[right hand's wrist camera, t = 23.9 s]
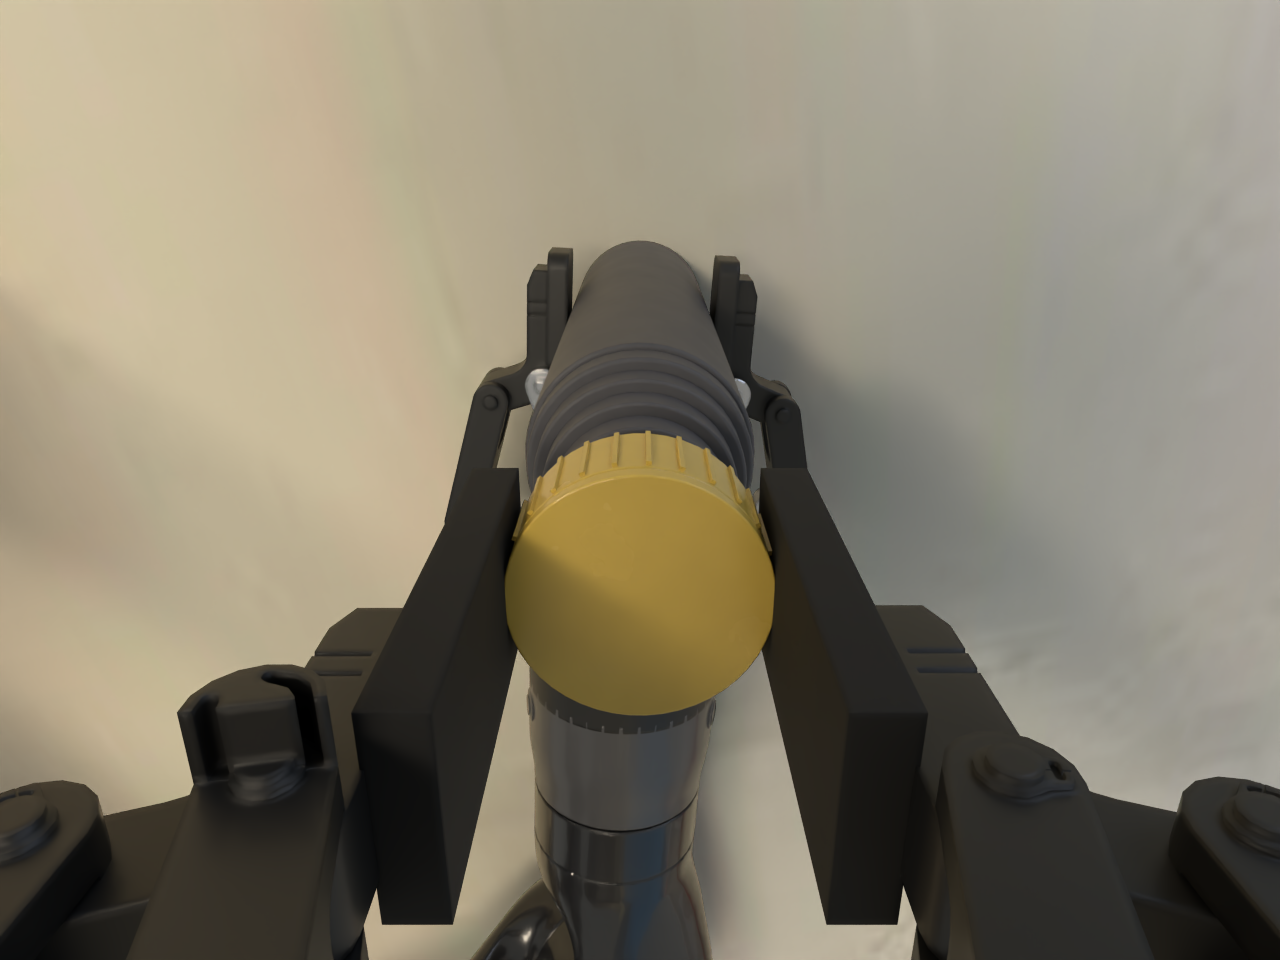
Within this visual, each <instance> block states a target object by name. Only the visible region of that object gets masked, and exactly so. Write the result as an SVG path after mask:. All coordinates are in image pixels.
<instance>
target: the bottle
mask: <svg viewBox="0 0 1280 960" xmlns="http://www.w3.org/2000/svg"><path fill="white" fill-rule="evenodd" d="M645 431H651V434H657V435H664V436H669V437H673V438H676V437H677V436H680V437H682V440H684V441H686V442H688V443H691V444H693V445H696V446H698V447H700V448H701V449H703V450H704V449H705V448H708V449H709V450H710V453H711V454H712V455H713V456H715V457H716V458H717V459H718V460H720V461H721V462H722V463H724V464H725V465H726V466H727V467H729V466H730V465H731V466H732V467H733V469H734V472H735V475H736V477H737V478H738V479H739V481H740V482H741V483H742V485H743V486H744V487H745V489H747V488H749V489H750V486H751V482H752V475H753V462H754V437H753V431H752V426H751V422H750V419H749V416H748V413H747V411H746V408H745V405H744V403H743V400H742V397H741V395H740V392H739V390H738V387H737V384H736V382H735V379H734V377H733V374H732V371H731V369H730V366H729V364H728V361H727V358H726V356H725V353H724V351H723V348H722V345H721V343H720V340H719V338H718V335H717V332H716V330H715V327H714V324H713V322H712V319H711V317H710V314H709V311H708V309H707V306H706V304H705V301H704V298H703V296H702V293H701V291H700V288H699V285H698V283H697V280H696V278H695V276H694V274H693V272H692V270H691V268H690V267H689V265H688V264H687V263H686V262H685V261H684V260H683V258H682V257H680V256H679V255H678V254H677V253H676V252H674V251H673V250H671V249H669V248H667V247H665V246H663V245H661V244H657V243H654V242H649V241H631V242H626V243H622V244H620V245H617V246H615V247H613V248H611V249H609V250H607V251H606V252H605V253H603V254H602V255H601V256H600V257H599V258H598V259H597V260H596V261H595V262H594V263H593V264H592V266H591V267H590V269H589V270H588V272H587V274H586V276H585V278H584V280H583V283H582V286H581V288H580V291H579V293H578V296H577V299H576V301H575V304H574V306H573V309H572V312H571V314H570V317H569V319H568V322H567V325H566V327H565V330H564V332H563V335H562V338H561V340H560V343H559V345H558V348H557V351H556V353H555V356H554V358H553V361H552V364H551V366H550V369H549V371H548V374H547V376H546V379H545V382H544V384H543V387H542V389H541V392H540V395H539V397H538V400H537V402H536V405H535V408H534V410H533V413H532V415H531V419H530V422H529V426H528V430H527V437H526V463H527V476H528V482H529V487H530V490H531V493H532V492H533V491H534V488H535V484H536V481H537V478H538V477H539V476H541V477H544V475H545V474H546V473H547V472H548V471H549V470H550V469H551V468H552V467H553V466H554V465H555V464H556V463H557V460H558V458H559V457H560V456H561V455H562V456H563V457H565V456H567V455H568V454H570V453H571V452H573V451H575V450H577V449H578V448H580V447H582V446H584V442H586V441H589V442H590V443H591V442H594V441H597V440H599V439H603V438H607V437H611V436H614V433H616V432H619V434H620V435H622V434H632V433H645Z"/></svg>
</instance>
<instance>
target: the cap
mask: <svg viewBox="0 0 1280 960" xmlns="http://www.w3.org/2000/svg"><path fill="white" fill-rule="evenodd" d="M511 540H512V541H514V545H513V548H512V551H511V554H510V557H509V561H508V565H507V569H506V572H505V577H504V580H505V600H506V615H507V625H508V628H509V631H510V633H511V636H512V639H513V641H514V642H515V644H516V646H517V648H518V650H519V652H520V653H521V655H522V656H523V658H524V659H525V661H526V662H527V663H528V665H529V666H530V667H531V668H532V669H533V670H534V671H535V672H536V674H537V675H538V676H539V677H540V678H541V679H543V680H544V681H545V682H546V683H547V684H549V685H550V686H551V687H552V688H554V689H555V690H557V691H558V692H560V693H561V694H563V695H565V696H566V697H568V698H570V699H572V700H574V701H576V702H578V703H580V704H583V705H586V706H589V707H591V708H594V709H597V710H602V711H606V712H610V713H616V714H624V715H656V714H664V713H669V712H674V711H679V710H682V709H685V708H688V707H691V706H694V705H697V704H699V703H701V702H703V701H706V700H708V699H710V698H712V697H713V696H715V695H717V694H718V693H720V692H722V691H723V690H725V689H726V688H727V687H728V686H730V685H731V684H732V683H734V682H735V681H736V680H737V679H738V678H739V677H740V676H741V675H742V674H743V673H744V672H745V671H746V670H747V669H748V668H749V667H750V665H751V664H752V663H753V662H754V660H755V659H756V658H757V656H758V655H759V653H760V651H761V649H762V648H763V646H764V644H765V642H766V640H767V638H768V635H769V633H770V630H771V628H772V621H773V607H774V591H775V574H774V570H773V565H772V562H771V558H770V556H771V555H772V548H771V545H770V542H769V539H768V536H767V532H766V529H765V526H764V523H763V520H762V517H761V514H758V512H757V509H756V506H755V503H754V500H753V496H752V493H751V491H750V489H749V488H747V489H745V487H744V486H743V485H742V483H741V482H740V481H739V479H738V478H737V477H736V475H735V472H734V469H733V467H732V466H731V465H730V466H729V467H727V466H726V465H725V464H724V463H722V462H721V461H720V460H718V459H717V458H716V457H715V456H713V455H712V454H711V453H710V450H709V449H708V448H705V449H704V450H703V449H701V448H700V447H698V446H696V445H693V444H691V443H688V442H686V441H684V440H682V437H680V436H677V437H676V438H673V437H669V436H664V435H657V434H651V431H645V433H632V434H622V435H620V434H619V432H616V433H614V436H611V437H607V438H603V439H599V440H597V441H594V442H591V443H590V442H589V441H586V442H584V446H582V447H580V448H578V449H577V450H575V451H573V452H571V453H570V454H568V455H567V456H565V457H563V456H562V455H561V456H560V457H559V458H558V460H557V463H556V464H555V465H554V466H553V467H552V468H551V469H550V470H549V471H548V472H547V473H546V474H545V475H544V477H541V476H539V477H538V478H537V481H536V484H535V488H534V491H533V492H532V494H531V496H530V497H529V500H528V501H527V500H524V502H523V504H522V507H521V511H520V514H519V517H518V520H517V523H516V526H515V530H514V533H513V536H512V539H511Z"/></svg>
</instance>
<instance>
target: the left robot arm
mask: <svg viewBox="0 0 1280 960" xmlns="http://www.w3.org/2000/svg"><path fill="white" fill-rule="evenodd" d="M572 284H573V248H556V247H552V249H551V250H550V251H549V253H548V263H547V265H545V264H538V265H537V266H536V267H535V268H534V270H533V272H532V274H531V277H530V279H529V282H528V284H527V358H526V359H525V360H524V361H523V362H521V363H519V364H516V365H513V366H510V367H506V368H501V367H498V368H494V369H492V370H490V371H489V372H488V373H487V375H486V376H485V378H484V379H483V381H482V383H481V384H480V386H479V387H478V389H477V390H476V392H475V394H474V396H473V400H472V405H471V409H470V413H469V418H468V422H467V426H466V431H465V435H464V439H463V443H462V448H461V452H460V456H459V461H458V465H457V469H456V474H455V478H454V482H453V486H452V491H451V495H450V499H449V504H448V508H447V512H446V517H445V523H446V521H447V519H448V517H449V515H450V513H451V511H452V509H453V507H454V505H455V503H456V501H457V499H458V497H459V495H460V493H461V491H462V489H463V487H464V485H465V483H466V481H467V479H468V477H469V475H470V473H471V471H472V469H473V468H497V464H498V460H499V456H500V452H501V448H502V444H503V440H504V436H505V432H506V428H507V424H508V420H509V416H510V412H511V410H513V409H516V408H519V407H523V406H526V405H529V404H531V406H532V408H533V410H534V408H535V405H536V402H537V400H538V397H539V395H540V392H541V389H542V387H543V384H544V382H545V379H546V376H547V374H548V371H549V369H550V366H551V364H552V361H553V358H554V356H555V353H556V351H557V348H558V345H559V343H560V340H561V338H562V335H563V332H564V330H565V327H566V325H567V322H568V319H569V317H570V314H571V312H572ZM756 305H757V294H756V290H755V287H754V283H753V281H752V279H751V278H750V277H749V275H744V274H740V262H739V260H738V259H737V258H736V257H735V256H717V255H715V259H714V267H713V279H712V291H711V303H710V317H711V319H712V322H713V324H714V327H715V330H716V332H717V335H718V338H719V340H720V343H721V345H722V348H723V351H724V353H725V356H726V358H727V361H728V364H729V366H730V369H731V371H732V374H733V377H734V379H735V382H736V384H737V387H738V390H739V392H740V395H741V397H742V400H743V403H744V405H745V408H746V411H747V413H748V416H749V417H750V418H752V419H755V420H757V421H759V422H760V423H761V430H762V437H763V444H764V451H765V459H766V466H767V468H807V463H806V455H805V446H804V438H803V430H802V422H801V414H800V409H799V407H798V405H797V403H796V402H795V401H794V400H793V399H792V398H791V394H790V391H789V390H788V388H787V386H786V385H785V384H783V383H782V382H780V381H769V380H766V379H764V378H762V377H759V376H757V375H755V374H754V373H753V372H752V371H751V369H750V363H751V354H752V344H753V334H754V324H755V313H756ZM759 495H760V488H759V489H758V490H756V491H755V493H754V494H753V500H754V503H755V506H756V509H757V512H758V513H759ZM715 709H716V700H715V696H713V697H712V698H710V699H708V700H706V701H703V702H701V703H699V704H697V705H694V706H691V707H688V708H685V709H682V710H679V711H674V712H669V713H664V714H656V715H624V714H616V713H610V712H606V711H602V710H597V709H594V708H591V707H589V706H586V705H583V704H580V703H578V702H576V701H574V700H572V699H570V698H568V697H566V696H565V695H563V694H561V693H560V692H558V691H557V690H555V689H554V688H552V687H551V686H550V685H549V684H547V683H546V682H545V681H544V680H543V679H541V678H540V677H539V676H538V675H537V674H536V672H535V671H534V670H533V669H532V668H531V667H530V688H529V690H528V694H527V710H528V715H529V725H530V739H531V746H532V752H533V758H534V765H535V849H536V857H537V862H538V866H539V870H540V872H541V875H542V878H541V879H540V880H538V881H537V882H536V883H535V884H534V885H532V886H531V887H530V888H529V889H528V890H527V891H526V892H525V893H524V894H523V895H522V896H521V897H520V898H519V899H518V901H517V902H516V903H515V904H514V905H513V906H512V907H511V909H510V910H509V911H508V912H507V914H506V915H505V916H504V918H503V919H502V920H501V921H500V923H499V924H498V925H497V926H496V928H495V929H494V930H493V932H492V933H491V934H490V935H489V937H488V938H487V939H486V940H485V942H484V943H483V944H482V945H481V947H480V948H479V949H478V951H477V952H476V953H475V954H474V955H473V957H472V958H471V959H470V960H713V959H712V951H711V945H710V939H709V933H708V928H707V922H706V917H705V911H704V905H703V899H702V894H701V888H700V884H699V880H698V877H697V873H696V869H695V865H694V861H693V856H692V848H693V840H694V831H695V822H696V812H697V801H698V791H699V782H700V776H701V771H702V767H703V764H704V761H705V757H706V753H707V748H708V744H709V738H710V732H711V725H712V724H713V720H714V716H715Z"/></svg>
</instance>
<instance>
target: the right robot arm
mask: <svg viewBox="0 0 1280 960" xmlns="http://www.w3.org/2000/svg"><path fill="white" fill-rule="evenodd" d="M520 511H521V505H520V487H519V469H518V468H473V469H472V471H471V473H470V475H469V477H468V479H467V481H466V483H465V485H464V487H463V489H462V491H461V493H460V495H459V497H458V499H457V501H456V503H455V505H454V507H453V509H452V511H451V513H450V515H449V517H448V519H447V521H446V523H445V525H444V527H443V529H442V531H441V533H440V535H439V537H438V539H437V541H436V543H435V545H434V547H433V549H432V551H431V553H430V555H429V557H428V559H427V561H426V563H425V565H424V567H423V569H422V571H421V573H420V575H419V577H418V579H417V581H416V583H415V585H414V587H413V589H412V591H411V593H410V595H409V597H408V599H407V601H406V603H405V605H404V607H403V608H357V609H355V610H354V611H353V612H351V613H350V614H349V615H347V616H346V617H344V618H343V619H342V620H340V621H339V622H337V623H336V624H335V625H333V626H332V627H331V628H329V630H328V631H327V633H326V635H325V636H324V638H323V639H322V641H321V643H320V644H319V646H318V647H317V649H316V651H315V656H312V657H311V659H310V660H309V662H308V663H307V665H306V667H305V668H303V667H299V666H295V665H263V666H258V667H253V668H248V669H243V670H238V671H236V672H233V673H231V674H228V675H226V676H223V677H221V678H219V679H216V680H214V681H211V682H210V683H208V684H207V685H205V686H204V687H203V688H201V689H200V690H198V691H197V692H195V693H194V694H192V695H191V696H190V697H189V698H188V699H187V701H186V702H185V703H184V704H183V706H182V707H181V708H180V709H179V711H178V712H177V715H178V719H179V723H180V728H181V732H182V736H183V740H184V745H185V749H186V753H187V757H188V762H189V766H190V770H191V774H192V779H193V783H194V785H193V788H192V791H191V793H190V795H188V796H185V797H182V798H178V799H175V800H172V801H168V802H165V803H160V804H156V805H151V806H147V807H142V808H138V809H133V810H128V811H124V812H119V813H115V814H110V815H106V816H103V813H102V809H101V806H100V802H99V799H98V796H97V795H96V794H95V793H94V792H93V791H92V790H90V789H89V788H88V787H87V786H86V785H84V784H79V783H73V782H68V781H63V780H62V781H52V782H42V783H33V784H30V785H26V786H23V787H19V788H17V789H12V790H9V791H6V792H3V793H0V960H369V958H368V951H367V945H366V938H365V932H364V923H365V920H366V917H367V914H368V911H369V908H370V906H371V903H372V900H373V897H374V894H375V891H376V888H377V894H378V900H379V907H380V914H381V921H382V925H453V922H454V917H455V913H456V909H457V905H458V900H459V896H460V892H461V888H462V883H463V879H464V875H465V871H466V867H467V862H468V858H469V854H470V850H471V845H472V841H473V837H474V833H475V828H476V824H477V820H478V816H479V811H480V807H481V803H482V799H483V794H484V790H485V786H486V782H487V777H488V773H489V769H490V765H491V760H492V756H493V752H494V748H495V743H496V739H497V735H498V731H499V726H500V722H501V718H502V714H503V709H504V705H505V701H506V697H507V692H508V688H509V684H510V680H511V675H512V671H513V667H514V663H515V658H516V654H517V650H518V648H517V646H516V644H515V642H514V641H513V639H512V636H511V633H510V631H509V628H508V625H507V615H506V600H505V580H504V577H505V572H506V569H507V565H508V561H509V557H510V554H511V551H512V548H513V545H514V541H512V540H511V539H512V536H513V533H514V530H515V526H516V523H517V520H518V517H519V514H520ZM758 514H761V517H762V520H763V523H764V526H765V529H766V532H767V536H768V539H769V542H770V545H771V548H772V555H771V556H770V558H771V562H772V565H773V570H774V574H775V591H774V607H773V621H772V628H771V630H770V633H769V635H768V638H767V640H766V642H765V644H764V646H763V648H762V652H763V657H764V661H765V665H766V669H767V674H768V678H769V682H770V686H771V691H772V695H773V699H774V703H775V708H776V712H777V716H778V720H779V725H780V729H781V733H782V737H783V742H784V746H785V750H786V754H787V758H788V763H789V767H790V771H791V775H792V780H793V784H794V788H795V792H796V797H797V801H798V805H799V809H800V814H801V818H802V822H803V826H804V831H805V835H806V839H807V843H808V848H809V852H810V856H811V860H812V865H813V869H814V873H815V877H816V882H817V886H818V890H819V894H820V899H821V903H822V907H823V911H824V916H825V920H826V924H827V925H897V924H898V917H899V910H900V903H901V897H902V890H903V886H904V889H905V892H906V894H907V897H908V900H909V903H910V906H911V909H912V912H913V914H914V917H915V920H916V923H917V926H916V932H915V938H914V945H913V951H912V957H911V960H1280V789H1277V788H1274V787H1271V786H1268V785H1263V784H1261V783H1257V782H1253V781H1250V780H1246V779H1236V778H1226V777H1213V778H1208V779H1203V780H1198V781H1195V782H1194V783H1193V784H1191V785H1190V786H1189V787H1188V788H1187V789H1186V790H1184V791H1183V793H1182V796H1181V800H1180V803H1179V807H1178V810H1177V812H1173V811H1168V810H1163V809H1159V808H1154V807H1150V806H1145V805H1140V804H1136V803H1131V802H1127V801H1122V800H1117V799H1114V798H1110V797H1107V796H1103V795H1100V794H1096V793H1093V792H1091V791H1089V789H1088V786H1087V784H1086V782H1085V781H1084V779H1083V778H1082V776H1081V775H1080V773H1079V772H1078V770H1077V769H1076V767H1075V766H1074V765H1073V764H1072V763H1070V762H1069V761H1068V760H1067V759H1065V758H1064V757H1063V756H1061V755H1060V754H1059V753H1057V752H1056V751H1055V750H1054V749H1051V748H1049V747H1047V746H1045V745H1043V744H1041V743H1038V742H1036V741H1034V740H1032V739H1030V738H1027V737H1023V736H1020V735H1019V734H1018V732H1017V730H1016V729H1015V727H1014V726H1013V724H1012V723H1011V721H1010V719H1009V718H1008V716H1007V715H1006V713H1005V711H1004V710H1003V708H1002V707H1001V705H1000V703H999V702H998V700H997V699H996V697H995V696H994V694H993V692H992V691H991V689H990V688H989V686H988V684H987V683H986V681H985V680H984V678H983V677H982V675H981V673H977V667H976V665H975V664H974V662H973V661H972V659H971V657H970V656H969V654H968V653H965V648H964V646H963V645H962V643H961V642H960V640H959V638H958V637H957V635H956V634H955V632H954V630H953V629H952V627H951V626H950V625H949V624H948V623H946V622H945V621H943V620H942V619H941V618H939V617H938V616H936V615H935V614H934V613H932V612H931V611H929V610H928V609H927V608H925V607H924V606H922V605H874V603H873V601H872V599H871V597H870V595H869V593H868V591H867V589H866V586H865V584H864V582H863V580H862V578H861V576H860V574H859V572H858V570H857V568H856V566H855V564H854V562H853V560H852V558H851V556H850V554H849V552H848V550H847V548H846V546H845V544H844V542H843V540H842V538H841V536H840V534H839V532H838V530H837V528H836V526H835V524H834V522H833V520H832V518H831V516H830V514H829V512H828V510H827V508H826V506H825V504H824V502H823V500H822V498H821V496H820V494H819V492H818V490H817V488H816V486H815V484H814V482H813V480H812V478H811V476H810V474H809V472H808V470H807V468H761V476H760V495H759V513H758Z"/></svg>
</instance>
